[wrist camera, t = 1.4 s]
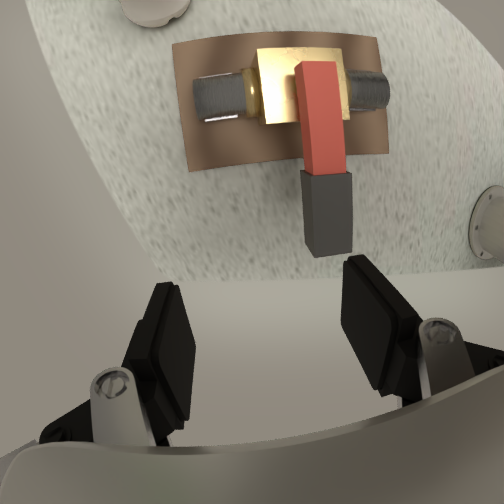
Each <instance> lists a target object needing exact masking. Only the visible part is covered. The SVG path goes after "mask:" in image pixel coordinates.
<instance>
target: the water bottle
mask: <svg viewBox="0 0 504 504" xmlns="http://www.w3.org/2000/svg"><path fill="white" fill-rule="evenodd" d="M119 2H120V3H121V4H122V9H123V12H124V14H125V16H126V17H127V18H128V19H129V20H131V21H132V22H134V23H136V24H138V25H141V26H144V27H160V26H163V25H165V24H167V23H168V22H169V20H170V19H171V18H173V17H175V18H178V17H180V16H181V15H182V14H183V13H184V12H185V10H186V9H187V7H188V5H189V3H190V0H119Z"/></svg>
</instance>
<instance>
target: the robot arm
mask: <svg viewBox="0 0 504 504" xmlns="http://www.w3.org/2000/svg"><path fill="white" fill-rule="evenodd" d="M469 239H470V245H471V248H472V251H473V252H474V254H475V255H476V256H478V257H479V258H481V259H483V260H488V259H491V258H493V257H495V258H497V259H498V260H500V261H501V262H503V263H504V188H503V187H501V186H493V187H490V188H489V189H488V190H486V191H485V192H484V193H483V194H482V196H481V197H480V199H479V200H478V202H477V204H476V206H475V209H474V211H473V214H472V218H471V222H470V230H469ZM341 325H342V328H343V330H344V332H345V334H346V336H347V338H348V340H349V342H350V344H351V346H352V348H353V350H354V352H355V354H356V356H357V358H358V360H359V362H360V364H361V366H362V368H363V370H364V372H365V374H366V376H367V378H368V380H369V382H370V384H371V386H372V388H373V389H374V390H378V391H379V393H380V395H381V397H383V396H387V395H390V394H394V395H396V396H397V405H398V409H397V410H394V411H391V412H388V413H385V414H382V415H379V416H376V417H373V418H369V419H366V420H362V421H359V422H355V423H352V424H348V425H345V426H340V427H336V428H332V429H328V430H324V431H319V432H314V433H309V434H304V435H299V436H294V437H288V438H282V439H275V440H268V441H261V442H252V443H244V444H232V445H218V446H198V447H173V445H172V442H171V439H170V436H169V434H171V433H172V432H173V431H174V430H175V429H176V430H177V429H178V430H181V429H184V421H188V420H189V417H190V405H191V394H192V382H193V372H194V362H195V352H196V345H195V340H194V337H193V334H192V330H191V327H190V324H189V320H188V317H187V314H186V310H185V306H184V303H183V299H182V296H181V293H180V288H179V286H178V285H174V284H173V283H172V282H164V283H157V284H156V286H155V288H154V291H153V294H152V296H151V299H150V301H149V304H148V306H147V309H146V311H145V314H144V317H143V319H142V320H139V321H138V323H137V325H136V328H135V330H134V333H133V336H132V338H131V341H130V343H129V347H128V349H127V352H126V355H125V357H124V360H123V363H122V366H121V367H113V368H109V369H106V370H104V371H102V372H101V373H99V374H98V375H97V376H96V377H95V378H94V379H93V381H92V383H91V387H90V399H89V400H88V401H86V402H84V403H83V404H81V405H79V406H78V407H76V408H75V409H73V410H72V411H70V412H68V413H67V414H65V415H64V416H62V417H60V418H58V419H57V420H55V421H54V422H52V423H50V424H49V425H48V426H46V427H45V428H44V430H43V431H42V433H41V435H40V439H39V442H37V441H36V440H33V441H31V442H29V443H27V444H25V445H24V446H22V447H20V448H18V449H16V450H14V451H12V452H11V453H9V454H7V455H5V456H3V457H1V458H0V504H504V351H501V350H497V349H493V348H489V347H485V346H482V345H478V344H473V343H470V342H466V341H463V338H462V335H461V333H460V330H459V329H458V327H457V326H456V325H455V324H454V323H453V322H451V321H449V320H446V319H443V318H429V319H427V320H424V321H423V320H422V319H421V318H420V316H419V315H418V313H417V312H416V311H415V310H414V309H413V307H412V306H411V305H410V304H409V303H408V302H407V301H406V299H405V298H404V297H403V296H402V295H401V294H400V293H399V292H398V290H396V288H395V287H394V286H393V285H392V284H391V283H390V282H389V281H388V280H387V278H386V277H385V276H384V275H383V274H382V273H381V272H380V271H379V270H378V269H377V268H376V267H375V266H374V265H373V264H372V262H371V261H370V260H369V259H368V258H367V257H366V256H365V255H363V254H361V255H355V256H349V257H348V260H347V261H344V263H343V287H342V306H341Z"/></svg>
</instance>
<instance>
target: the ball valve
mask: <svg viewBox="0 0 504 504" xmlns="http://www.w3.org/2000/svg"><path fill="white" fill-rule="evenodd" d="M301 61H336V66H337V73H338V81H339V89H340V98H341V107H342V118H343V120H350V116H349V111H376V109H384V108H385V107H386V106H387V105H388V102H389V99H390V87H389V83H388V80H387V78H386V76H385V75H384V74H383V73H381V72H372V71H367V70H353V69H345V67H344V65H343V58H342V51H341V49H339V48H317V47H286V48H263V49H257V50H256V52H255V55H254V58H253V61H252V63H251V68H241V69H240V73H233V74H232V73H228V74H221V75H214V76H207V77H201V78H199V79H193V96H194V103H195V109H196V114H197V117H198V120H204V119H205V122H212V121H218V120H225V119H233V118H237V115H239V114H245V115H246V118H249V117H257V119H258V125H265V124H276V123H289V122H300V113H299V105H298V96H297V88H296V84H295V72H294V67H295V66H296V65H298V64H299V63H300V62H301Z"/></svg>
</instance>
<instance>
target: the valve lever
mask: <svg viewBox="0 0 504 504" xmlns="http://www.w3.org/2000/svg"><path fill="white" fill-rule="evenodd" d="M294 72H295V84H296V88H297V96H298V105H299V113H300V123H301V133H302V143H303V154H304V166H305V170H300V175H301V188H302V202H303V218H304V235H305V244H306V245H307V247H308V248H309V250H310V252H311V253H312V255H313V256H314V258H318V257H325V256H332V255H338V254H345V253H351V252H352V234H353V202H352V173H350V172H347V171H346V158H345V142H344V129H343V118H342V107H341V98H340V89H339V81H338V73H337V66H336V61H301V62H300V63H299V64H298V65H296V66H295V67H294Z"/></svg>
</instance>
